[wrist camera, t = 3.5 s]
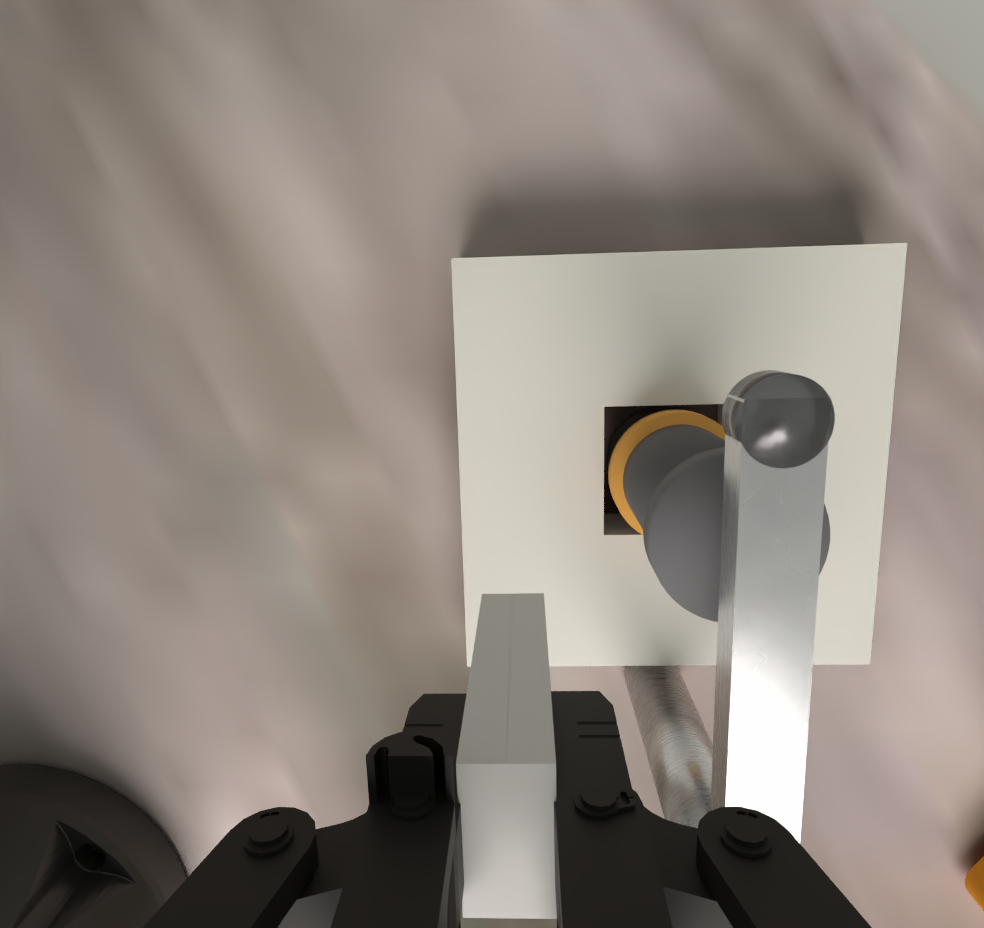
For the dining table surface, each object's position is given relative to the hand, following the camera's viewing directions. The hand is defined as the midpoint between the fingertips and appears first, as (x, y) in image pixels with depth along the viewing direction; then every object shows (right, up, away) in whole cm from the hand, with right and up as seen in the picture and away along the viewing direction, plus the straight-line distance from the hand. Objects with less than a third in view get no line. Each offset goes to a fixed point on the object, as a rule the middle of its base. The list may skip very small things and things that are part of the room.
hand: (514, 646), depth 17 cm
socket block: (+6, +5, +12) cm, 15 cm away
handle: (+6, +1, +13) cm, 14 cm away
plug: (+6, +5, +12) cm, 15 cm away
